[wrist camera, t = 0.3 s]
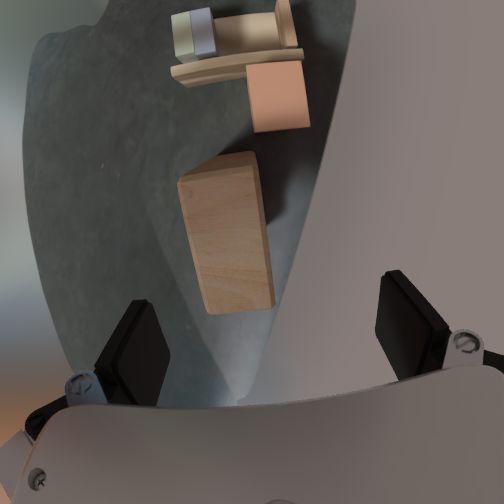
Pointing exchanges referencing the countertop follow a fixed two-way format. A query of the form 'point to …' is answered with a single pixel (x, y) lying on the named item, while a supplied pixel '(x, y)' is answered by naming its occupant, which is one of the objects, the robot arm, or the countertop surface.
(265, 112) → the tall pink rectangular prism
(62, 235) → the countertop surface
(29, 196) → the countertop surface
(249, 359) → the countertop surface
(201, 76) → the shelf
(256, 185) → the decorative block
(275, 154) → the countertop surface
